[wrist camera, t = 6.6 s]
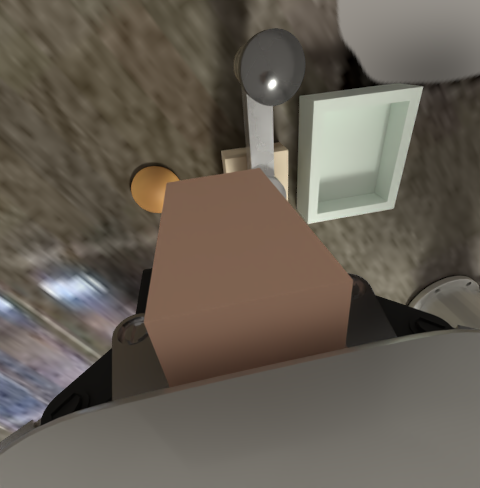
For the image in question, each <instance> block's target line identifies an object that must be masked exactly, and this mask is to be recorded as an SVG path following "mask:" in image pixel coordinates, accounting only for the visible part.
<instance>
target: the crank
mask: <svg viewBox="0 0 480 488" xmlns="http://www.w3.org/2000/svg"><path fill="white" fill-rule="evenodd" d="M233 69H234V73H235V76H236V78H237V80H238V81H239V82H240V83H241V90H242V103H243V116H244V129H245V142H246V155H247V168H248V170H249V169H256V168H260V169H261V170H262V171H263V172H264V174H265V175H266V176H267V177H268V178H269V180H270V181H271V182H272V183H273V184H274V186H275V187H276V188H277V189H278V190H279V192H280V193H281V194H282V195H283V196H284V198H285V199H286V190H285V188H284V186H283V185H282V184H281V182H280V181H279V180H278V179H277V177H276V176H275V175H274V140H273V106H276V105H280V104H282V103H284V102H286V101H288V100H289V99H290V98H291V97H292V96H293V95H294V94H295V93H296V92H297V90H298V89H299V87H300V85H301V83H302V81H303V77H304V73H305V56H304V52H303V49H302V46H301V44H300V43H299V41H298V40H297V38H296V37H295V36H294V35H292V34H291V33H290V32H288V31H286V30H283V29H278V28H275V29H268V30H264V31H261V32H259V33H257V34H255V35H254V36H253V37H252V38H251V39H250V40H249V41H248V42H247V43H246V44H244V45H243V46H242V47H241V48H240V49H239V50H238V51H237V53H236V55H235V58H234V63H233Z"/></svg>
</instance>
